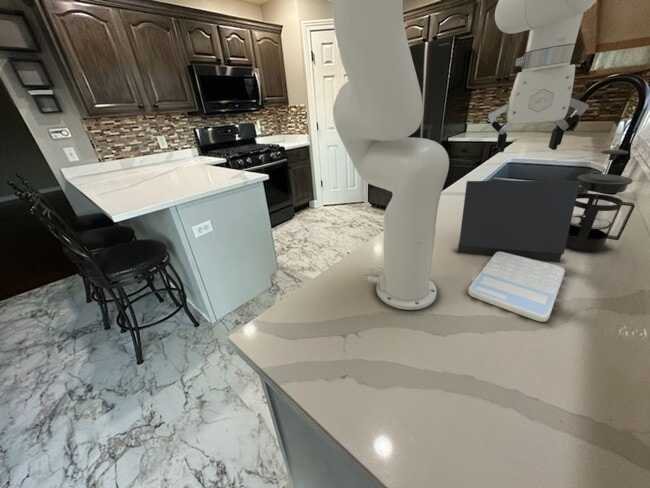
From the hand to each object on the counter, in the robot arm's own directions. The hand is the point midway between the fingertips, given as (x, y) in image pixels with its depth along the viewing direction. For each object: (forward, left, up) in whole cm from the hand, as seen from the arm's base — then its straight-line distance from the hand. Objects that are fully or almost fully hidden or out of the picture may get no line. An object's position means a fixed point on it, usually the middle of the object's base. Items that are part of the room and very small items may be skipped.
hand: (525, 150), depth 60 cm
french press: (+17, +3, -25) cm, 30 cm away
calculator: (-1, -19, -25) cm, 31 cm away
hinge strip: (-1, -8, -24) cm, 26 cm away
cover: (-1, -6, -14) cm, 15 cm away
